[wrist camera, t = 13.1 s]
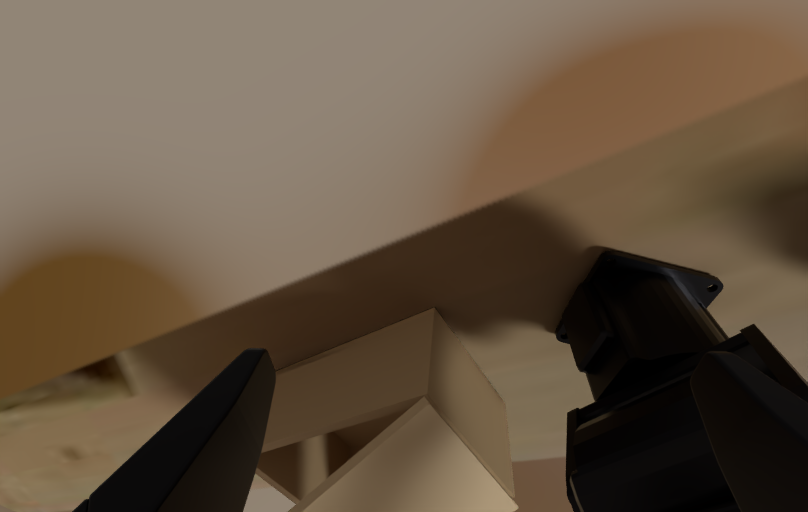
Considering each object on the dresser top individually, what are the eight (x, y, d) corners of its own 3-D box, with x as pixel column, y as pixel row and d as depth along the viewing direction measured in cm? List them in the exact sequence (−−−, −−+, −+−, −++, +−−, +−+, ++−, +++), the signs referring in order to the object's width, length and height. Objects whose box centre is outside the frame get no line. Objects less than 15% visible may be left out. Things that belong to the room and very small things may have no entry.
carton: (434, 307, 25) (427, 393, 19) (505, 403, 29) (514, 496, 24) (271, 372, 30) (231, 454, 25) (350, 446, 34) (330, 530, 29)
